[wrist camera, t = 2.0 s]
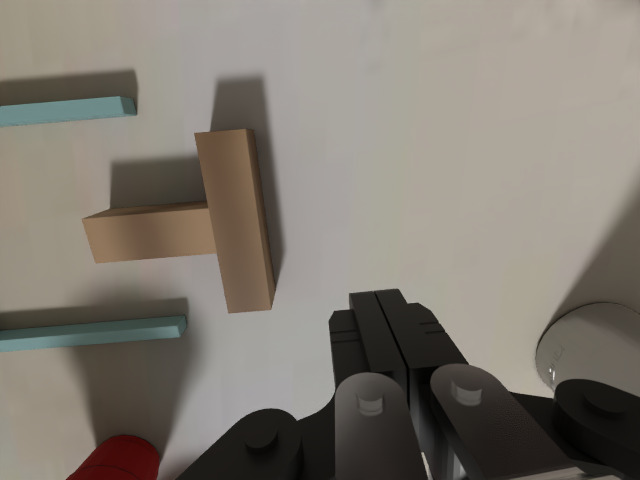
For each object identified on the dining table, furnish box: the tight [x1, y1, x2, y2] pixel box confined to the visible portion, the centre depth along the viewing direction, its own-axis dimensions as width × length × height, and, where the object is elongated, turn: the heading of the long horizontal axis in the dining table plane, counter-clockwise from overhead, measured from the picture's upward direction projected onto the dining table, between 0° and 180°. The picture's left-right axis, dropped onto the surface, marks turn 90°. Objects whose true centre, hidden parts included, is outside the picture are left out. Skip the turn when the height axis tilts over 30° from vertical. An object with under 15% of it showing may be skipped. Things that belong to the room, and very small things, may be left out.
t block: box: [82, 129, 276, 313], centre depth 22 cm, size 11×12×3 cm
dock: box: [0, 96, 187, 352], centre depth 23 cm, size 16×17×2 cm
